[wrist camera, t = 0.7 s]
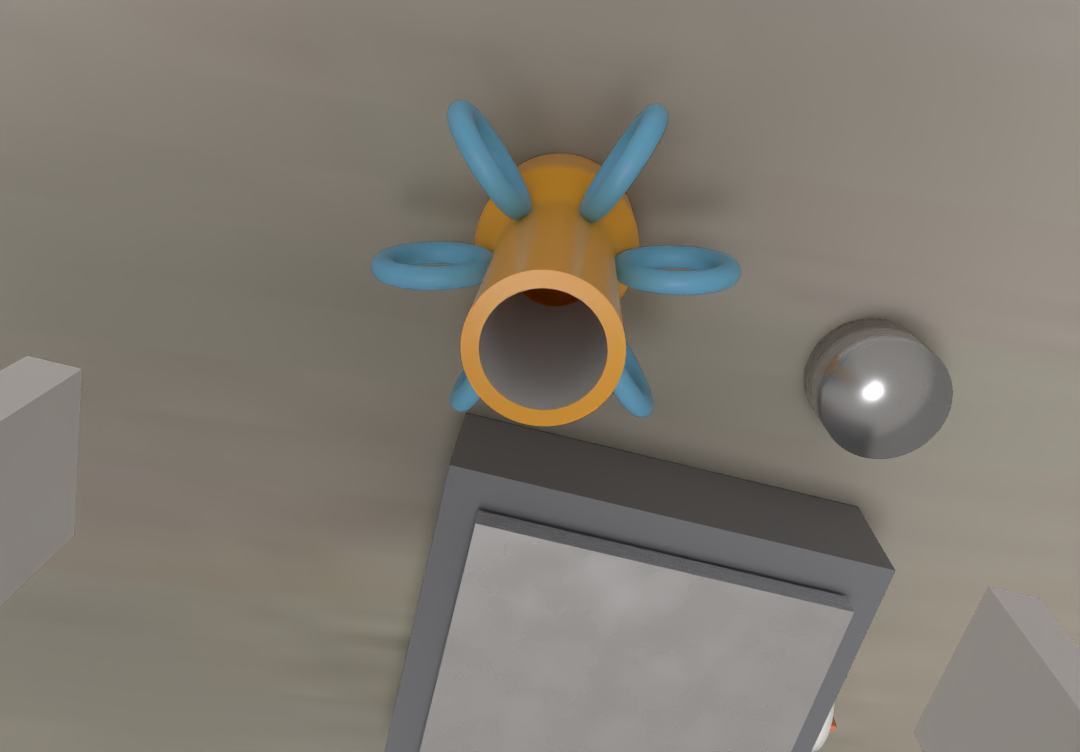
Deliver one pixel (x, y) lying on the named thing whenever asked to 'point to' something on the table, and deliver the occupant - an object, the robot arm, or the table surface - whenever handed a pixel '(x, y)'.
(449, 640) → the pan
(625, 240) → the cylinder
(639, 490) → the base
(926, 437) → the cylinder
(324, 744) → the table surface
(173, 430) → the table surface
